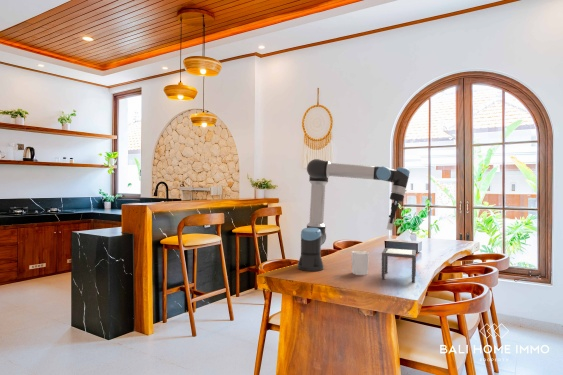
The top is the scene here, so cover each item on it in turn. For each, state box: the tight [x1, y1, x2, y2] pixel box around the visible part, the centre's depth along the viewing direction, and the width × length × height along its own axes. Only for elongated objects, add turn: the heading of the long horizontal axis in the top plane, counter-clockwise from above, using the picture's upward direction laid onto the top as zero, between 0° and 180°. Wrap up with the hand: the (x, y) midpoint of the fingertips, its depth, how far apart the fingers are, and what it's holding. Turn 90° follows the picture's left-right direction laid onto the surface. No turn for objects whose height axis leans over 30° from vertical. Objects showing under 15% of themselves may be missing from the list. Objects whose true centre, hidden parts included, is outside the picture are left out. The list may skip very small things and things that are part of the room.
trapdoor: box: [386, 248, 414, 255], centre depth 208 cm, size 13×14×1 cm
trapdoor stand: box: [381, 247, 417, 284], centre depth 208 cm, size 17×18×14 cm
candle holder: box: [351, 250, 370, 276], centre depth 216 cm, size 10×10×12 cm
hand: (389, 229), depth 223 cm, fingers open, 13 cm apart
